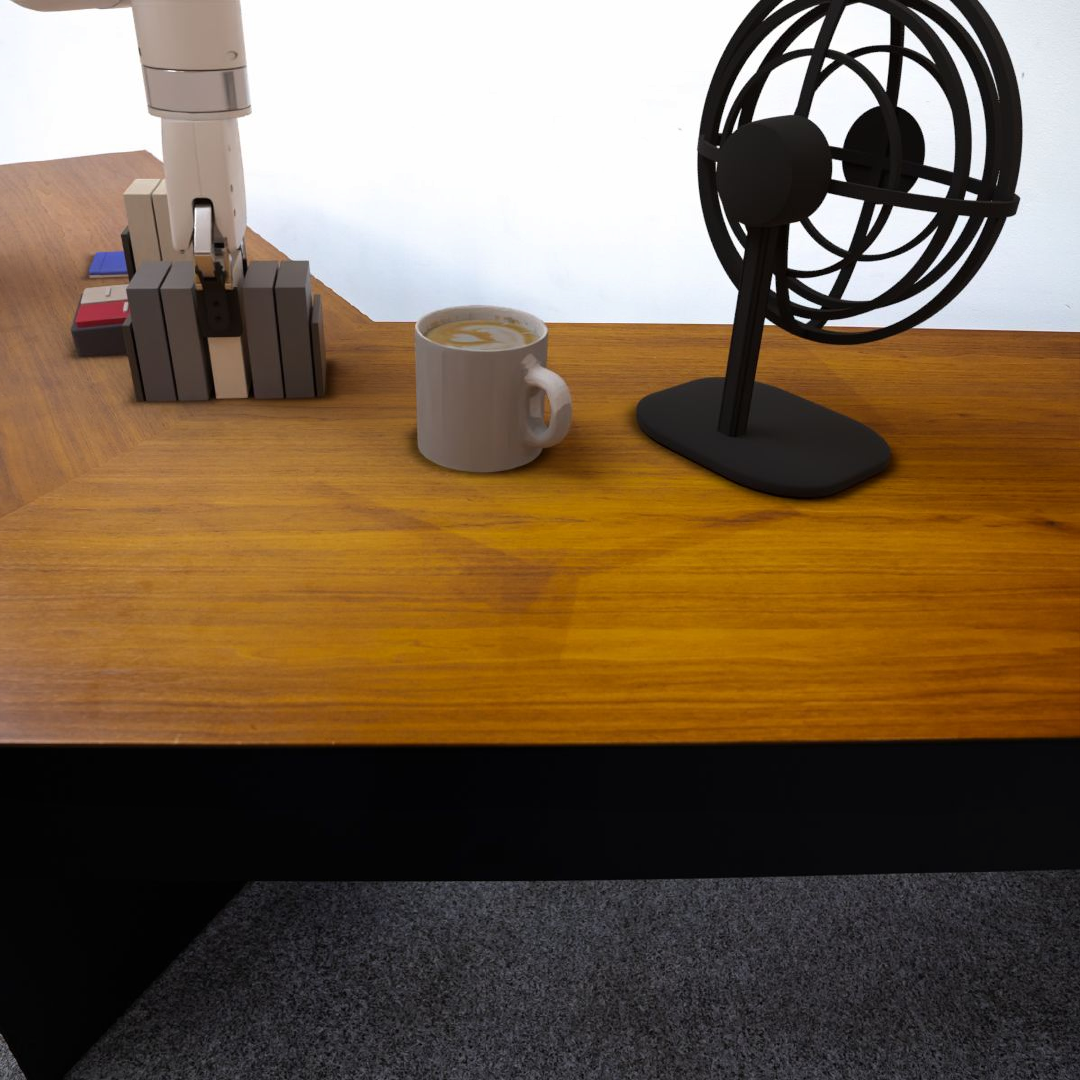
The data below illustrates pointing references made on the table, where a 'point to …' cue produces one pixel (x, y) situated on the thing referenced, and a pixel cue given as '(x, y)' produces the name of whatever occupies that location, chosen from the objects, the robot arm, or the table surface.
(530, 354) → the coffee mug
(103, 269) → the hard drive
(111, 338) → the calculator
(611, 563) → the table surface
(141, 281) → the grey books
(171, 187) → the robot arm
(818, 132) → the desk fan
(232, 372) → the white book
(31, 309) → the table surface
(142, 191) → the white books
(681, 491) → the table surface
